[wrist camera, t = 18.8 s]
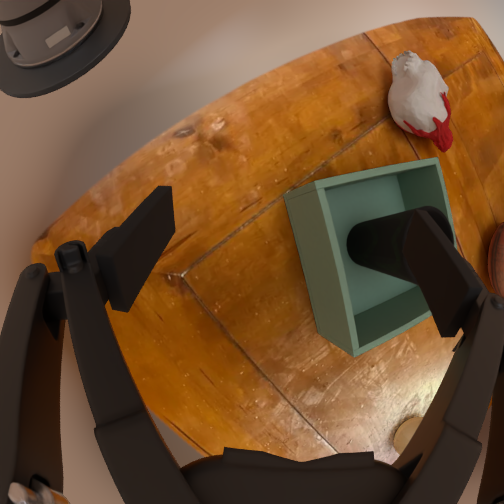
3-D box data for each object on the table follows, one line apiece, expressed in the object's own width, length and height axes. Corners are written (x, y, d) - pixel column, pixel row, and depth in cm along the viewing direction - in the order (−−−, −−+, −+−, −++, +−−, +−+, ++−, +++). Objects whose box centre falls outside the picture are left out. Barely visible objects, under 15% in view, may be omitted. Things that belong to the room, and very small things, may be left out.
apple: (412, 445, 42) (416, 471, 35) (384, 431, 44) (385, 458, 37) (441, 418, 40) (449, 443, 33) (412, 402, 42) (418, 428, 35)
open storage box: (282, 194, 35) (314, 181, 26) (394, 169, 38) (437, 156, 30) (317, 333, 37) (354, 357, 28) (418, 287, 40) (462, 296, 31)
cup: (334, 270, 36) (397, 283, 24) (343, 207, 36) (407, 196, 24) (383, 277, 37) (449, 290, 26) (391, 220, 37) (457, 216, 26)
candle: (385, 60, 37) (437, 128, 42) (356, 95, 36) (415, 171, 41) (424, 40, 29) (477, 120, 34) (400, 74, 28) (461, 166, 32)
